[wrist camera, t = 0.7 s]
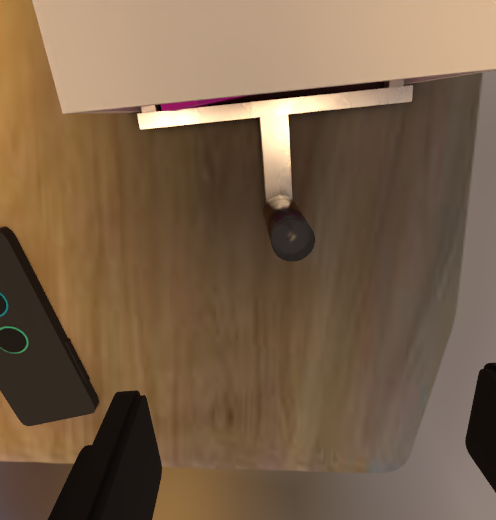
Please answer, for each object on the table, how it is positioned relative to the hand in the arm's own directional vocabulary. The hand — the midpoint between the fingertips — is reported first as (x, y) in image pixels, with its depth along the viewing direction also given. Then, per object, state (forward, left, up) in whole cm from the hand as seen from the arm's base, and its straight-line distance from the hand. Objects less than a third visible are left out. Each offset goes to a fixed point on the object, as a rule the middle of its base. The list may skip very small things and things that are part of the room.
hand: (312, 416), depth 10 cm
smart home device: (+9, -24, -22) cm, 34 cm away
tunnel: (-13, +1, -22) cm, 25 cm away
